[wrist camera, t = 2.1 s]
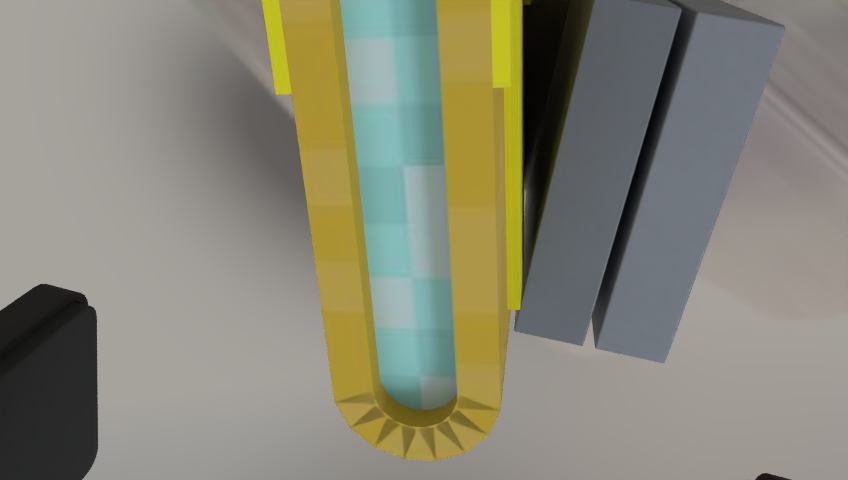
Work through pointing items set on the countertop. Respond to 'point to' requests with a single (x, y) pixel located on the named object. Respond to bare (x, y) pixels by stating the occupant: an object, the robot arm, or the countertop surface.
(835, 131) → the countertop surface
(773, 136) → the countertop surface
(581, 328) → the grey book
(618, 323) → the grey book
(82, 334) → the robot arm
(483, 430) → the book
